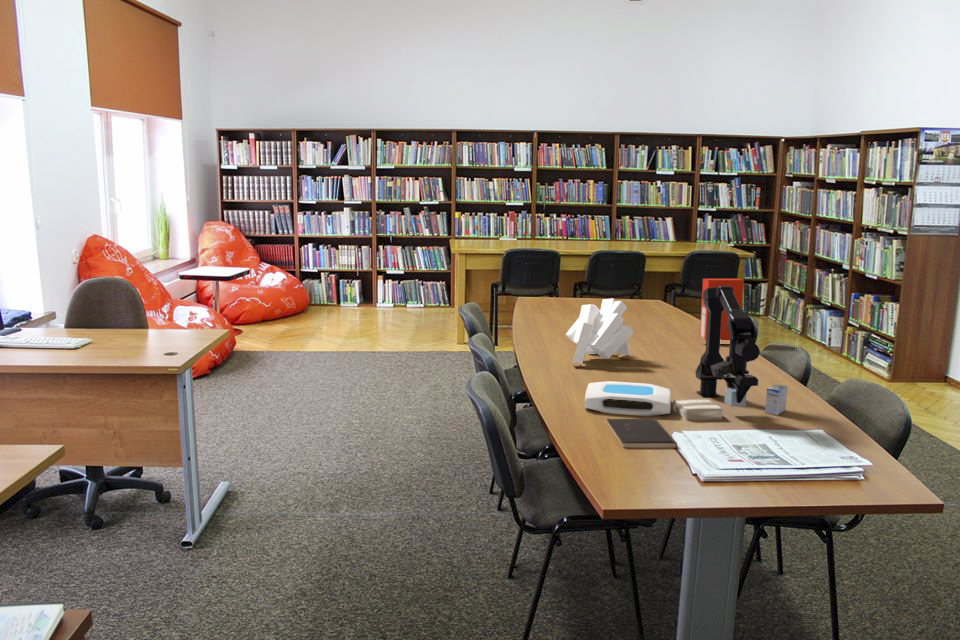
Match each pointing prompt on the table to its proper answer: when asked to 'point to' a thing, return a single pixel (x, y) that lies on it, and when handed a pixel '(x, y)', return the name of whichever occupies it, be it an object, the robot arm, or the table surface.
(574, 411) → the table surface
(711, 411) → the cream block
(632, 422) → the hardcover book
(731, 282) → the file binder
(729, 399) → the grey cube
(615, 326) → the pile of blocks
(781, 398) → the medicine box
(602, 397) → the document scanner
